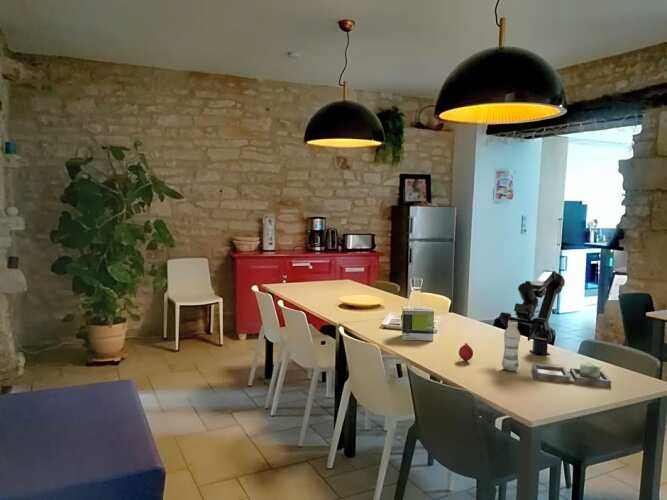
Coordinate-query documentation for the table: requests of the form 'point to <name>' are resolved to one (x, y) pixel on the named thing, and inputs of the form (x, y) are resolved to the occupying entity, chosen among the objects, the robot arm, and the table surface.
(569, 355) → the table surface
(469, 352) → the onion
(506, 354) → the plastic bottle
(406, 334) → the tea box
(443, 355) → the table surface
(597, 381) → the grey flat tray
